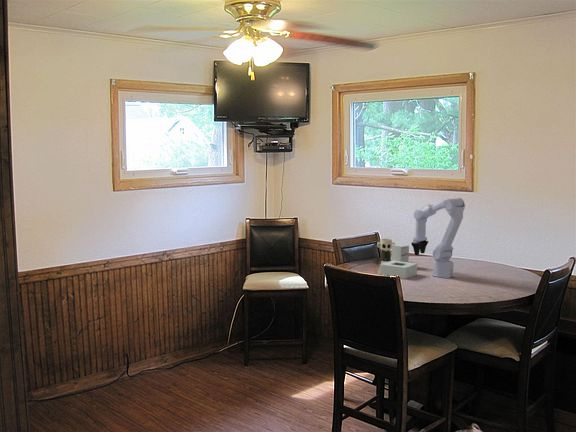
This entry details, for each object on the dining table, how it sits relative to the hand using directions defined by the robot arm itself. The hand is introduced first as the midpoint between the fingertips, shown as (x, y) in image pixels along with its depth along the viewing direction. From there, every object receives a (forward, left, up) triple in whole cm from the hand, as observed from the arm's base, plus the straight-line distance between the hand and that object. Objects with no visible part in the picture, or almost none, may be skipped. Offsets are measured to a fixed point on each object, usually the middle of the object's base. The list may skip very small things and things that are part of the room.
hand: (419, 254), depth 354 cm
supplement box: (+14, -4, -10) cm, 17 cm away
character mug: (+29, -15, -10) cm, 34 cm away
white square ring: (+4, +18, -9) cm, 21 cm away
